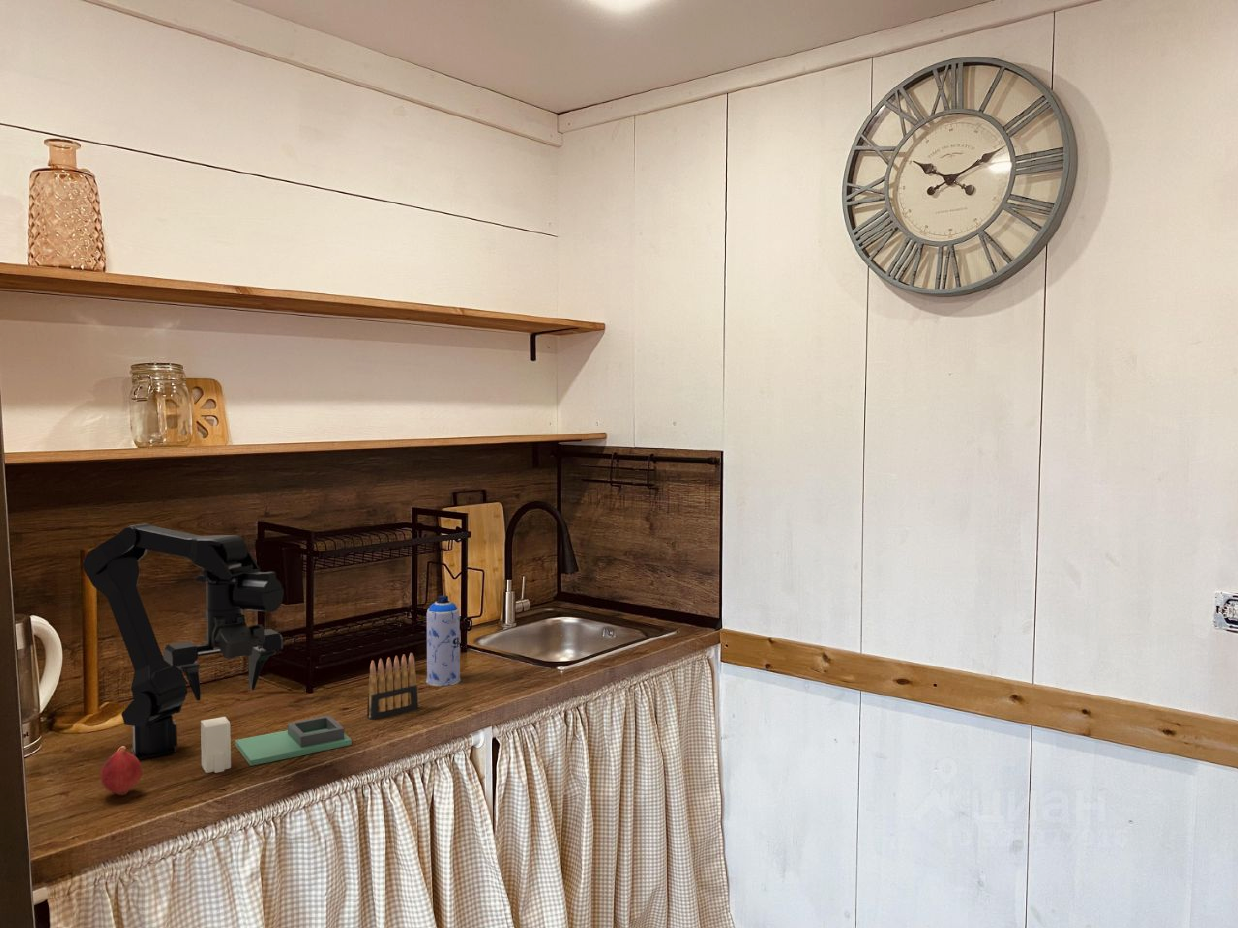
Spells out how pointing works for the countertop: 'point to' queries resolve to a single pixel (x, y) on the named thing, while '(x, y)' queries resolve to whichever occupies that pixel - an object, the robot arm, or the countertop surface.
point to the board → (294, 741)
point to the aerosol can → (443, 643)
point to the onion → (121, 772)
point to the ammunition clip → (392, 689)
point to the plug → (216, 744)
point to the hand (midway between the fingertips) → (225, 694)
